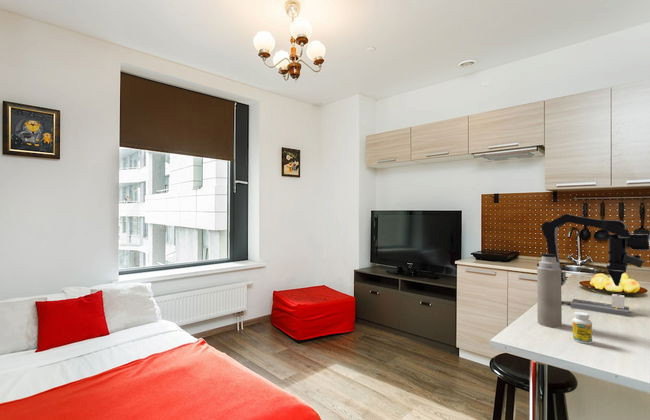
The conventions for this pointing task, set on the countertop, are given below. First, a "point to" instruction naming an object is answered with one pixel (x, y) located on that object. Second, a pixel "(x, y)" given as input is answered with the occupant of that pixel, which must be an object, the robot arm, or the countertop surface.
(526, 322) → the countertop surface
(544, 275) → the thermos bottle
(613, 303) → the fader cap
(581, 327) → the supplement bottle
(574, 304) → the console board
